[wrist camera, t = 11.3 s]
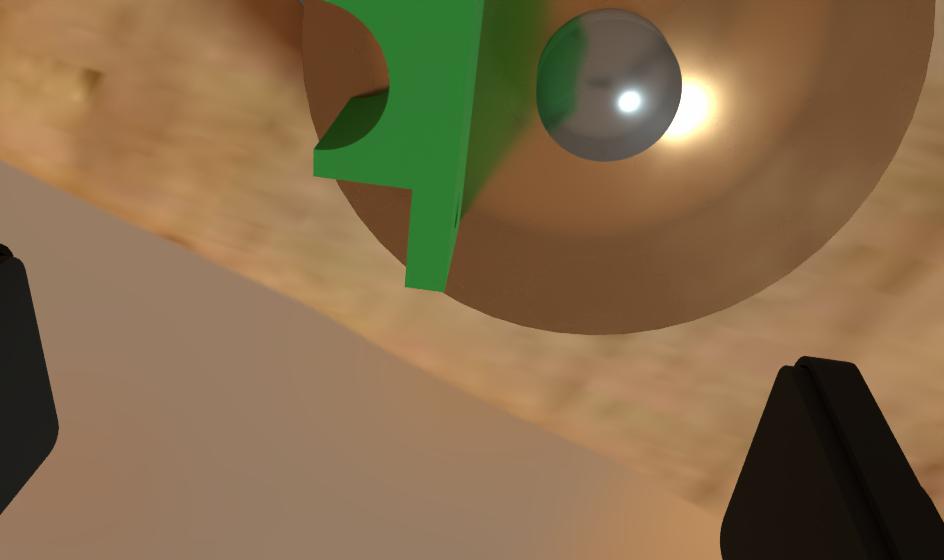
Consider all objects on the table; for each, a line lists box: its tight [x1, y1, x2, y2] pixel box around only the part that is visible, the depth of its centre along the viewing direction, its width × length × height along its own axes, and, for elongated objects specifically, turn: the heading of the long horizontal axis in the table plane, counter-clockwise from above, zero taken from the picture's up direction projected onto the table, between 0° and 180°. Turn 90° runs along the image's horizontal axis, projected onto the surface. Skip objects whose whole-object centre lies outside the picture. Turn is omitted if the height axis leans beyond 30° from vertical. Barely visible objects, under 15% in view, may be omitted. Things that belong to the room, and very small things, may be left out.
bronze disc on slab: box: [298, 0, 935, 335], centre depth 26 cm, size 18×18×10 cm
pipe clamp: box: [313, 0, 484, 292], centre depth 21 cm, size 11×4×5 cm, turn 174°
